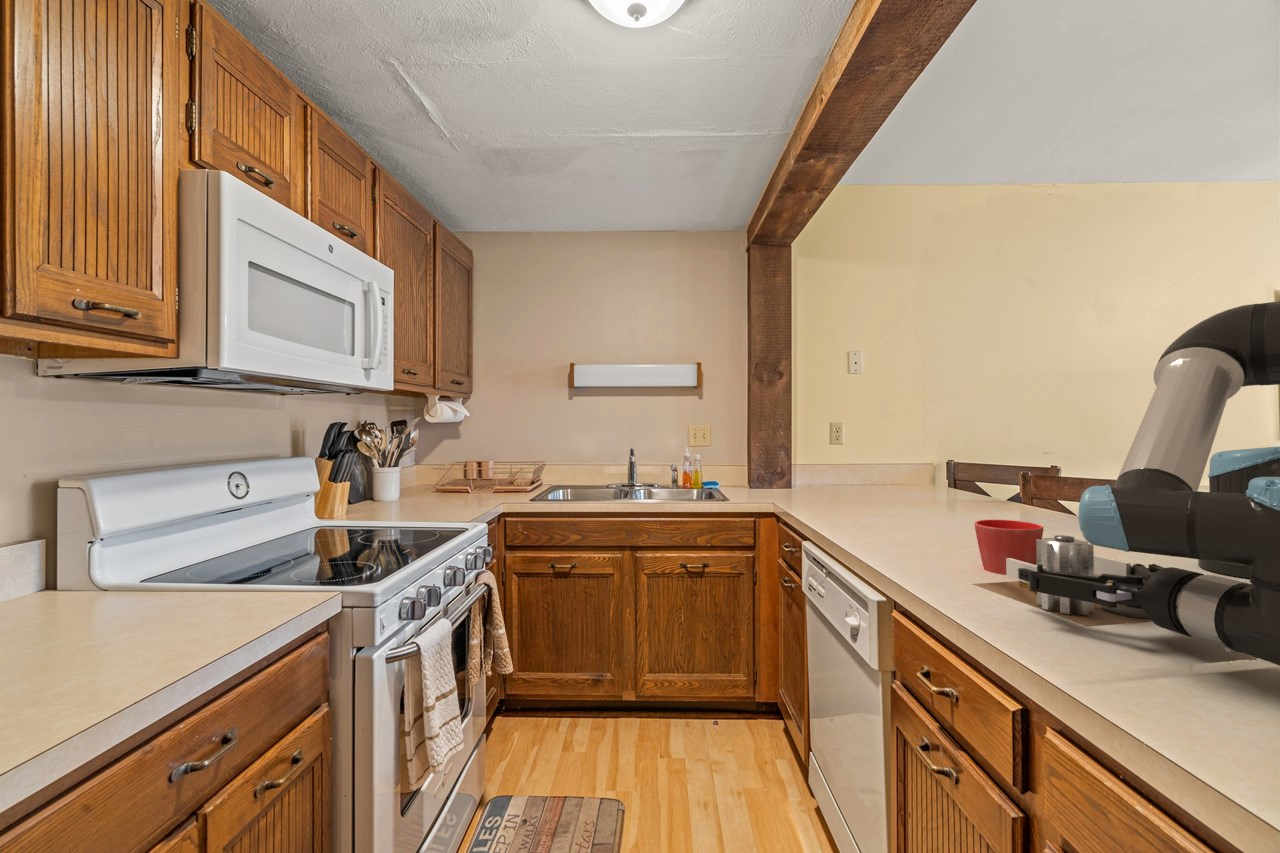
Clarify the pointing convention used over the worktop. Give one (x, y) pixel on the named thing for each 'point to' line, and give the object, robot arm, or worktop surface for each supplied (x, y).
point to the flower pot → (1006, 542)
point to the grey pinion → (1065, 570)
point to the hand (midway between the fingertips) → (1048, 564)
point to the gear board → (1096, 618)
